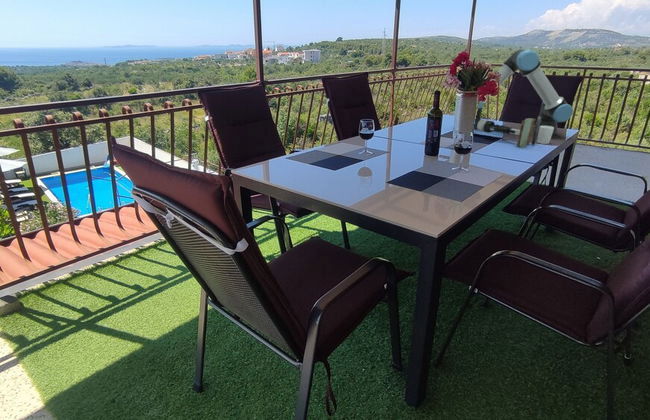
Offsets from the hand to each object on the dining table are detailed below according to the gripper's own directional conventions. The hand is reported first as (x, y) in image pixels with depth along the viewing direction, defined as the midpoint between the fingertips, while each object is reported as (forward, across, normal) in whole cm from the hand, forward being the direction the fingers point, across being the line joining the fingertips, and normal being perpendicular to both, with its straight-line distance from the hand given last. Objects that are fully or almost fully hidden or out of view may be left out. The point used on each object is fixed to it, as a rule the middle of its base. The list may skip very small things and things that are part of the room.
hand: (520, 132), depth 227 cm
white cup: (+7, -17, -7) cm, 20 cm away
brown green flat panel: (+3, -1, -7) cm, 7 cm away
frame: (+5, -1, -7) cm, 9 cm away
